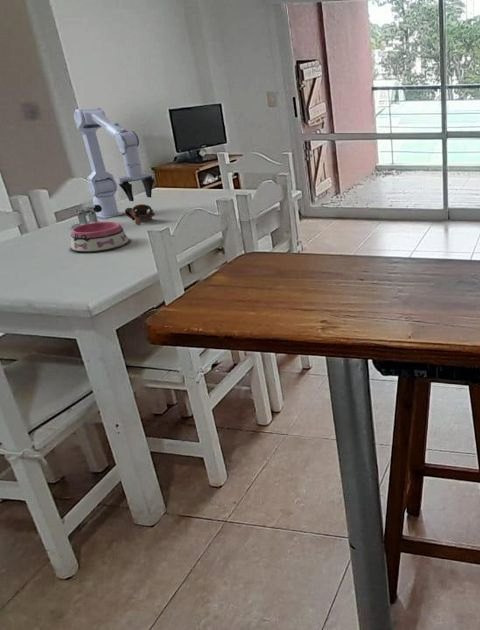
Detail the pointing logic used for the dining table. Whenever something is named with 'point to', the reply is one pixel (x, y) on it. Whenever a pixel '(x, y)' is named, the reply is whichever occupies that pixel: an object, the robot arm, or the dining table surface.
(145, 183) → the robot arm
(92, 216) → the tap bracket
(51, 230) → the dining table surface
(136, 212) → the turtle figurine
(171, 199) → the dining table surface
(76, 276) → the dining table surface
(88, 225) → the dog bowl
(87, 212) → the tap lever
